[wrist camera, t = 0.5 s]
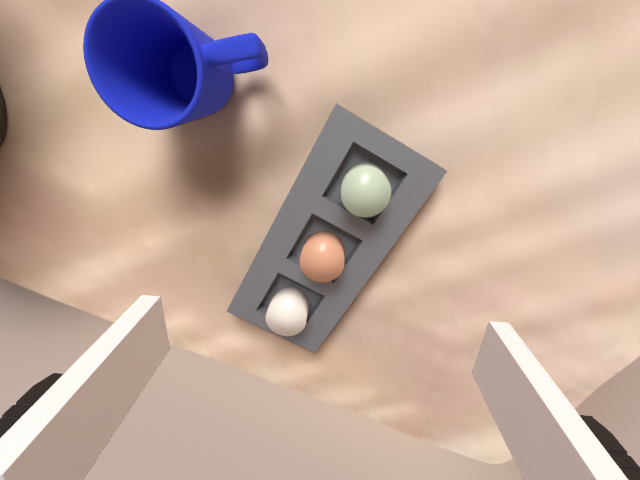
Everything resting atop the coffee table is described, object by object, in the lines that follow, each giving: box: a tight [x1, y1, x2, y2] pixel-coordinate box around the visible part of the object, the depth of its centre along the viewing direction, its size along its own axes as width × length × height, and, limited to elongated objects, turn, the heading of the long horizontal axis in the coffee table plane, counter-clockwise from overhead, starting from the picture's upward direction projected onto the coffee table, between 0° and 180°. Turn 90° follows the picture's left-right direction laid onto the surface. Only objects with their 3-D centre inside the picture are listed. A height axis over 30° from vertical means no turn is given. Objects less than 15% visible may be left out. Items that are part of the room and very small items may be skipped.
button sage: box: [341, 162, 391, 217], centre depth 29 cm, size 4×4×3 cm
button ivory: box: [265, 287, 309, 336], centre depth 35 cm, size 4×4×3 cm
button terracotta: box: [300, 231, 344, 282], centre depth 32 cm, size 4×4×3 cm
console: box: [227, 104, 447, 353], centre depth 35 cm, size 12×26×3 cm, turn 151°
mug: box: [83, 0, 268, 130], centre depth 26 cm, size 8×12×10 cm
